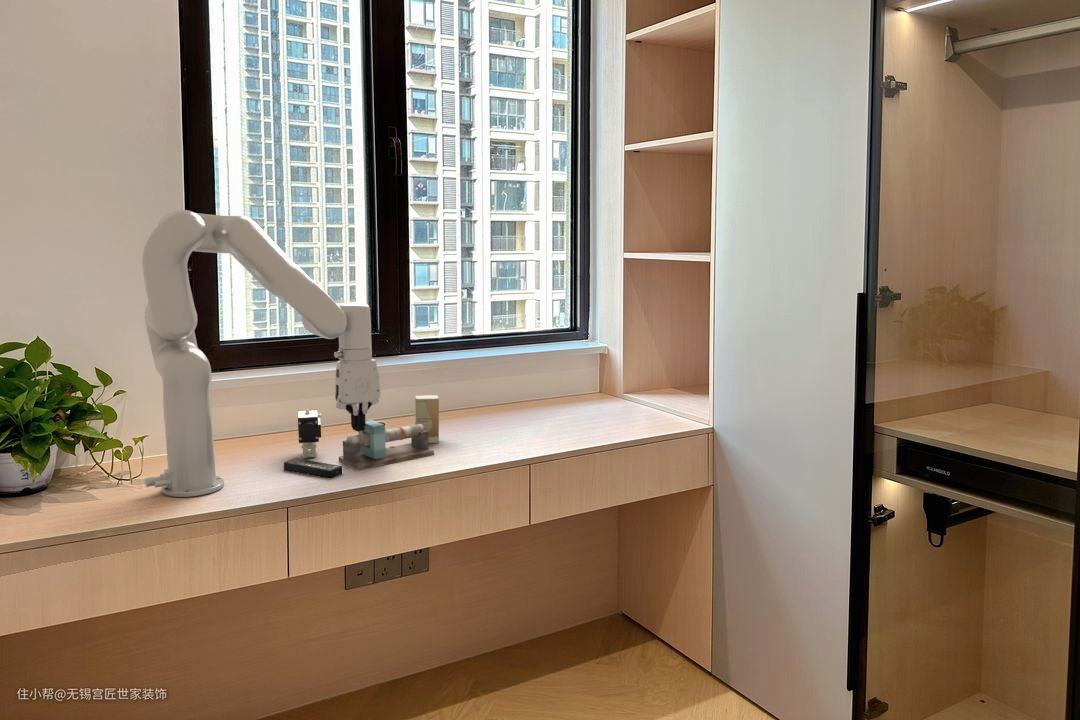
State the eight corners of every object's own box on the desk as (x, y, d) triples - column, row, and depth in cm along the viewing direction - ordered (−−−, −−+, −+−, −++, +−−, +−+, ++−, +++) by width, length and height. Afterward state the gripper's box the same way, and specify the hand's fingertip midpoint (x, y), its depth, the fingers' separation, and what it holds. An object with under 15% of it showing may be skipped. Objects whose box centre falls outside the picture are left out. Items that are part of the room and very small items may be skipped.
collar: (374, 459, 201) (373, 426, 200) (359, 452, 207) (358, 420, 206) (385, 457, 203) (384, 424, 202) (370, 450, 209) (369, 418, 208)
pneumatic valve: (299, 463, 203) (297, 415, 201) (300, 451, 214) (297, 405, 212) (323, 461, 204) (321, 413, 202) (322, 449, 215) (320, 403, 214)
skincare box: (415, 444, 221) (414, 398, 219) (414, 440, 225) (413, 395, 223) (440, 443, 222) (439, 397, 220) (438, 438, 226) (437, 394, 224)
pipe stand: (357, 469, 198) (356, 440, 197) (338, 460, 205) (337, 432, 204) (433, 454, 211) (433, 427, 210) (413, 446, 218) (412, 419, 217)
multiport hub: (296, 467, 202) (296, 457, 201) (343, 475, 195) (343, 466, 194) (283, 471, 198) (282, 462, 197) (330, 480, 191) (330, 470, 191)
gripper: (333, 360, 192) (336, 438, 195) (391, 353, 201) (393, 428, 204) (319, 356, 197) (322, 432, 200) (376, 350, 207) (378, 422, 210)
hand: (358, 429), depth 202 cm, fingers closed
